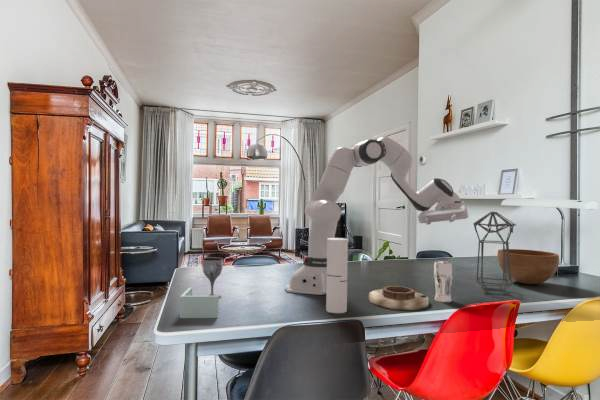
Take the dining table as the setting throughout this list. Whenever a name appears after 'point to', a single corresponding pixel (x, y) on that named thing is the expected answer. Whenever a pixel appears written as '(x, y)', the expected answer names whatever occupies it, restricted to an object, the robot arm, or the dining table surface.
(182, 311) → the right angle wall
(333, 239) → the cylindrical container
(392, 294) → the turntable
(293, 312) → the dining table surface
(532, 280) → the bowl
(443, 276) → the beer glass
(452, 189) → the robot arm
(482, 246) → the geometric lantern
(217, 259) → the wine glass
